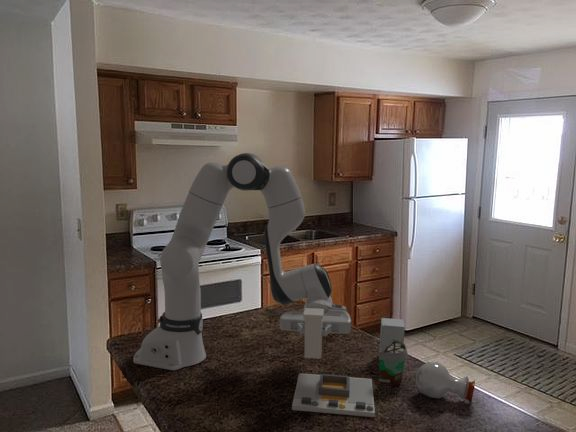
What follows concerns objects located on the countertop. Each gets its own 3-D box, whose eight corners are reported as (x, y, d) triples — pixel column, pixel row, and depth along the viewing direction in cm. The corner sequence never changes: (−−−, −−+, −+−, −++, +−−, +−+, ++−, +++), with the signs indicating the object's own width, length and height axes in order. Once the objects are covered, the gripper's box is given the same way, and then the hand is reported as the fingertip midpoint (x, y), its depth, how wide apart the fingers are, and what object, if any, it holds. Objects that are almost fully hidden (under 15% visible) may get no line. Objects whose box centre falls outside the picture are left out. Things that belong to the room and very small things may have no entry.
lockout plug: (302, 358, 125) (303, 314, 124) (304, 350, 130) (305, 308, 129) (322, 359, 125) (322, 315, 123) (323, 351, 130) (323, 308, 128)
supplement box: (403, 365, 147) (405, 327, 145) (378, 363, 148) (380, 325, 147) (402, 356, 154) (404, 319, 152) (379, 353, 155) (380, 317, 154)
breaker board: (291, 409, 120) (292, 398, 120) (299, 377, 138) (299, 366, 137) (374, 417, 118) (375, 405, 117) (371, 382, 135) (371, 372, 135)
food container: (398, 391, 130) (400, 357, 129) (377, 385, 134) (378, 352, 132) (411, 374, 141) (413, 343, 140) (392, 369, 144) (393, 338, 143)
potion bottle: (412, 393, 132) (468, 412, 127) (411, 388, 124) (470, 407, 118) (420, 361, 136) (474, 378, 130) (419, 354, 128) (477, 371, 122)
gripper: (282, 303, 140) (275, 319, 127) (351, 306, 138) (351, 323, 124) (282, 323, 141) (275, 341, 128) (350, 327, 139) (350, 346, 125)
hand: (313, 333), depth 126 cm, fingers closed on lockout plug, 4 cm apart
